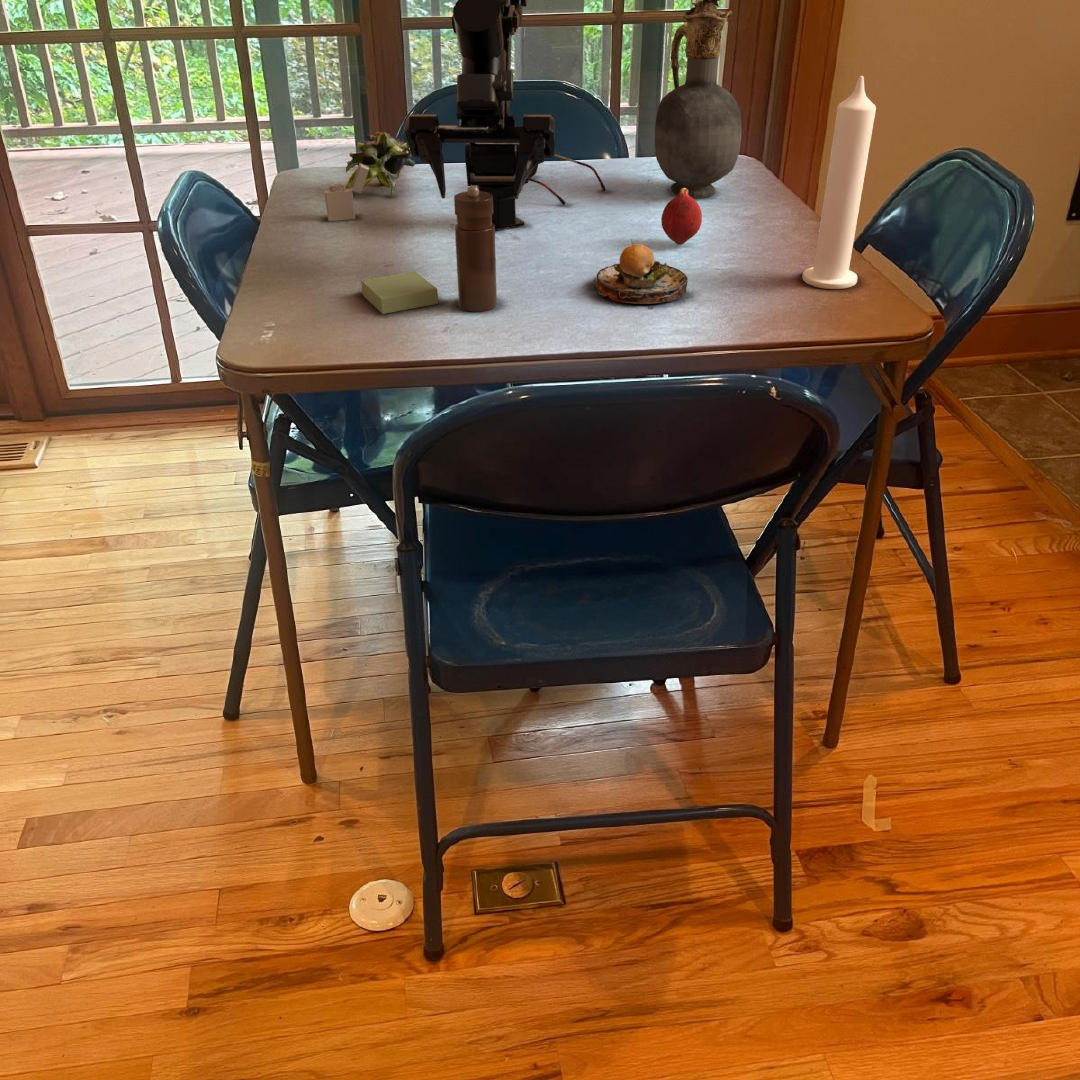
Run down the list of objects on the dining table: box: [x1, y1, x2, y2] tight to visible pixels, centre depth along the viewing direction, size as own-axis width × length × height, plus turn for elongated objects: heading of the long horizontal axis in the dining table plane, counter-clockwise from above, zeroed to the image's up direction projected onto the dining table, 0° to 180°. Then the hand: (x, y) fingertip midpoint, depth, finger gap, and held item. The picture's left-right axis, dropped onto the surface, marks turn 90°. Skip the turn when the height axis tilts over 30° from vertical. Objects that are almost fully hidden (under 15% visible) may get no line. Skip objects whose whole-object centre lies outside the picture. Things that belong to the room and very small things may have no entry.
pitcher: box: [654, 0, 743, 199], centre depth 162 cm, size 11×19×30 cm, turn 17°
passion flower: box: [345, 131, 416, 198], centre depth 169 cm, size 11×11×12 cm
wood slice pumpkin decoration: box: [594, 238, 689, 305], centre depth 129 cm, size 12×12×8 cm
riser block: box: [360, 270, 439, 315], centre depth 128 cm, size 8×8×2 cm
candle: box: [801, 75, 877, 290], centre depth 126 cm, size 7×7×25 cm
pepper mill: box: [453, 186, 498, 313], centre depth 122 cm, size 5×5×15 cm
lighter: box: [324, 163, 369, 222], centre depth 156 cm, size 7×2×8 cm, turn 106°
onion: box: [660, 188, 703, 246], centre depth 144 cm, size 6×6×8 cm
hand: (479, 196), depth 126 cm, fingers open, 9 cm apart
